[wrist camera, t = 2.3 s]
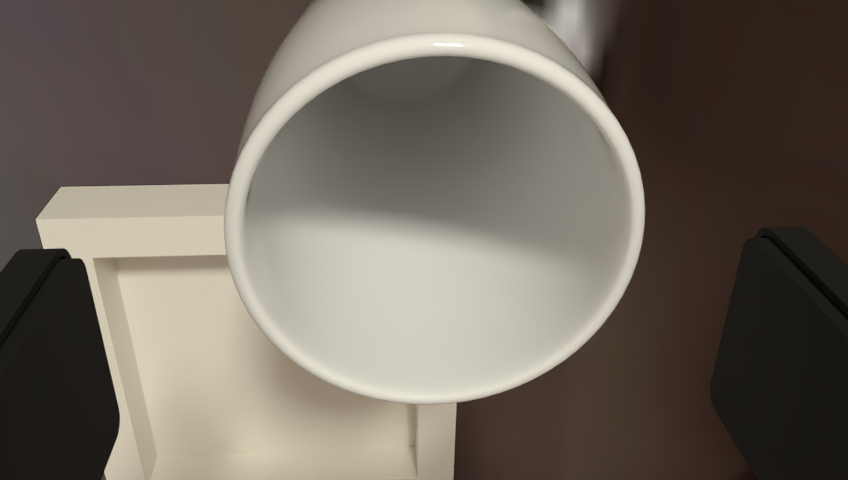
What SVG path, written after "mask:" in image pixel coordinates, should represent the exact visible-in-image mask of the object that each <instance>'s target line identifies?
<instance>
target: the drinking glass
mask: <svg viewBox="0 0 848 480" xmlns="http://www.w3.org/2000/svg"><path fill="white" fill-rule="evenodd" d="M644 227H645V200H644V188H643V183H642V178H641V173H640V169H639V166H638V163H637V160H636V156H635V153H634V151H633V149H632V146H631V144H630V142H629V140H628V138H627V135H626V134H625V132H624V130H623V129H622V127H621V125H620V124H619V122H618V120H617V119H616V117H615V116H614V114H613V113H612V111H611V109H610V107H609V106H608V104H607V102H606V101H605V99H604V97H603V96H602V94H601V92H600V91H599V89H598V88H597V86H596V84H595V83H594V81H593V80H592V78H591V77H590V75H589V74H588V72H587V71H586V69H585V68H584V67H583V66H582V64H581V63H580V62H579V60H578V59H577V58H576V56H575V55H574V54H573V52H572V51H571V50H570V48H569V47H568V46H567V45H566V44H565V42H564V41H563V40H562V39H561V38H560V37H559V36H558V34H557V33H556V32H555V31H554V30H553V29H552V28H551V27H550V26H549V25H548V24H547V23H546V22H545V21H544V20H543V19H542V18H541V17H540V16H539V15H538V14H537V13H536V12H535V11H533V10H532V9H531V8H530V7H529V6H528V5H526V4H525V3H524V2H523V1H522V0H312V1H311V2H310V4H309V5H308V6H307V8H306V9H305V10H304V12H303V13H302V14H301V16H300V17H299V18H298V20H297V21H296V22H295V24H294V25H293V27H292V28H291V29H290V31H289V32H288V34H287V35H286V37H285V38H284V39H283V41H282V42H281V44H280V46H279V47H278V49H277V51H276V52H275V54H274V56H273V58H272V60H271V61H270V63H269V65H268V67H267V69H266V71H265V73H264V75H263V77H262V79H261V82H260V84H259V87H258V89H257V91H256V94H255V96H254V99H253V101H252V103H251V106H250V109H249V112H248V115H247V118H246V122H245V125H244V128H243V132H242V135H241V138H240V142H239V145H238V149H237V153H236V158H235V162H234V167H233V171H232V176H231V180H230V183H229V186H228V192H227V197H226V203H225V213H224V240H225V249H226V255H227V261H228V265H229V269H230V272H231V276H232V279H233V282H234V284H235V287H236V289H237V292H238V294H239V296H240V298H241V300H242V302H243V304H244V306H245V308H246V309H247V311H248V313H249V315H250V316H251V317H252V319H253V320H254V322H255V323H256V325H257V326H258V328H259V329H260V330H261V331H262V332H263V333H264V335H265V336H266V337H267V338H268V339H269V341H270V342H271V343H272V344H274V345H275V346H276V347H277V348H278V349H279V350H280V351H281V352H282V353H283V354H284V355H285V356H287V357H288V358H289V359H290V360H292V361H293V362H294V363H295V364H297V365H298V366H300V367H301V368H303V369H304V370H306V371H307V372H309V373H310V374H312V375H314V376H316V377H317V378H319V379H321V380H323V381H325V382H327V383H329V384H331V385H334V386H336V387H338V388H340V389H343V390H346V391H349V392H352V393H354V394H357V395H361V396H365V397H368V398H372V399H376V400H382V401H388V402H393V403H403V404H417V405H435V404H450V403H458V402H465V401H470V400H475V399H480V398H484V397H488V396H491V395H495V394H498V393H502V392H504V391H507V390H510V389H512V388H515V387H518V386H520V385H522V384H524V383H527V382H529V381H531V380H533V379H535V378H537V377H539V376H540V375H542V374H544V373H546V372H548V371H549V370H551V369H552V368H554V367H555V366H557V365H558V364H560V363H561V362H563V361H564V360H566V359H567V358H568V357H570V356H571V355H572V354H573V353H575V352H576V351H577V350H578V349H580V348H581V347H582V346H583V345H584V344H585V343H586V342H587V341H588V340H589V339H590V338H591V337H592V336H593V335H594V334H595V333H596V332H597V331H598V329H599V328H600V327H601V326H602V325H603V324H604V323H605V321H606V320H607V319H608V317H609V316H610V315H611V313H612V312H613V311H614V309H615V308H616V306H617V304H618V303H619V301H620V299H621V298H622V296H623V294H624V292H625V290H626V288H627V286H628V284H629V282H630V280H631V278H632V275H633V273H634V270H635V267H636V264H637V262H638V258H639V254H640V250H641V246H642V241H643V234H644Z"/></svg>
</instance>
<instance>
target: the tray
mask: <svg viewBox="0 0 848 480" xmlns="http://www.w3.org/2000/svg"><path fill="white" fill-rule="evenodd" d="M228 186H229V184H198V185H143V186H88V187H60V189H59V190H58V191H57V193H56V194H55V195H54V197H53V198H52V199H51V200H50V202H49V203H48V204H47V206H46V207H45V208H44V209H43V211H42V212H41V213H40V215H39V216H38V217H37V218H36V222H37V226H38V230H39V233H40V237H41V241H42V244H43V248H44V249H56V248H64V249H66V250H67V251H68V252H69V254H70V255H71V258H80V259H82V260H83V262H84V264H85V266H86V269H87V274H88V278H89V282H90V287H91V291H92V295H93V299H94V304H95V308H96V312H97V317H98V321H99V325H100V330H101V334H102V338H103V342H104V347H105V351H106V355H107V360H108V364H109V368H110V372H111V377H112V381H113V385H114V390H115V394H116V398H117V403H118V407H119V413H120V426H119V433H118V436H117V439H116V442H115V444H114V447H113V450H112V452H111V455H110V457H109V460H108V463H107V465H106V468H105V471H104V473H105V476H106V480H453V476H454V452H455V427H456V403H450V404H435V405H417V404H403V403H393V402H388V401H382V400H376V399H372V398H368V397H365V396H361V395H357V394H354V393H352V392H349V391H346V390H343V389H340V388H338V387H336V386H334V385H331V384H329V383H327V382H325V381H323V380H321V379H319V378H317V377H316V376H314V375H312V374H310V373H309V372H307V371H306V370H304V369H303V368H301V367H300V366H298V365H297V364H295V363H294V362H293V361H292V360H290V359H289V358H288V357H287V356H285V355H284V354H283V353H282V352H281V351H280V350H279V349H278V348H277V347H276V346H275V345H274V344H272V343H271V342H270V341H269V339H268V338H267V337H266V336H265V335H264V333H263V332H262V331H261V330H260V329H259V328H258V326H257V325H256V323H255V322H254V320H253V319H252V317H251V316H250V315H249V313H248V311H247V309H246V308H245V306H244V304H243V302H242V300H241V298H240V296H239V294H238V292H237V289H236V287H235V284H234V282H233V279H232V276H231V272H230V269H229V265H228V261H227V255H226V249H225V240H224V213H225V203H226V197H227V192H228Z"/></svg>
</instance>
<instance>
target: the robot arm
mask: <svg viewBox="0 0 848 480" xmlns="http://www.w3.org/2000/svg"><path fill="white" fill-rule="evenodd" d="M710 394H711V400H712V404H713V407H714V409H715V411H716V412H717V414H718V416H719V417H720V419H721V421H722V422H723V424H724V426H725V427H726V429H727V431H728V432H729V434H730V436H731V437H732V439H733V441H734V442H735V444H736V446H737V447H738V449H739V451H740V452H741V454H742V456H743V457H744V459H745V461H746V462H747V464H748V466H749V467H750V469H751V471H752V472H753V474H754V475H755V477H756V479H757V480H848V266H847V265H846V264H845V263H844V262H843V261H841V260H840V259H839V258H838V257H837V256H836V255H835V254H834V253H833V252H832V251H831V250H829V249H828V248H827V247H826V246H825V245H824V244H823V243H822V242H821V241H820V240H819V239H818V238H816V237H815V236H814V235H813V234H812V233H811V232H810V231H809V230H807V229H806V228H804V227H780V228H762V229H761V230H759V231H758V233H757V234H756V235H755V238H749V239H748V240H747V241H746V242H745V244H744V246H743V249H742V253H741V258H740V262H739V266H738V270H737V275H736V279H735V283H734V287H733V291H732V296H731V300H730V304H729V308H728V313H727V317H726V321H725V325H724V330H723V334H722V338H721V342H720V346H719V351H718V355H717V359H716V363H715V368H714V372H713V376H712V380H711V386H710ZM119 426H120V413H119V407H118V403H117V398H116V394H115V390H114V385H113V381H112V377H111V372H110V368H109V364H108V360H107V355H106V351H105V347H104V342H103V338H102V334H101V330H100V325H99V321H98V317H97V312H96V308H95V304H94V299H93V295H92V291H91V287H90V282H89V278H88V274H87V269H86V266H85V264H84V262H83V260H82V259H80V258H71V255H70V254H69V252H68V251H67V250H66V249H64V248H56V249H23V250H19V251H18V252H16V253H15V254H14V256H13V257H12V258H11V260H10V261H9V262H8V263H7V265H6V266H5V267H4V269H3V270H2V271H1V273H0V480H101V478H102V476H103V473H104V471H105V468H106V465H107V463H108V460H109V457H110V455H111V452H112V450H113V447H114V444H115V442H116V439H117V436H118V433H119Z"/></svg>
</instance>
